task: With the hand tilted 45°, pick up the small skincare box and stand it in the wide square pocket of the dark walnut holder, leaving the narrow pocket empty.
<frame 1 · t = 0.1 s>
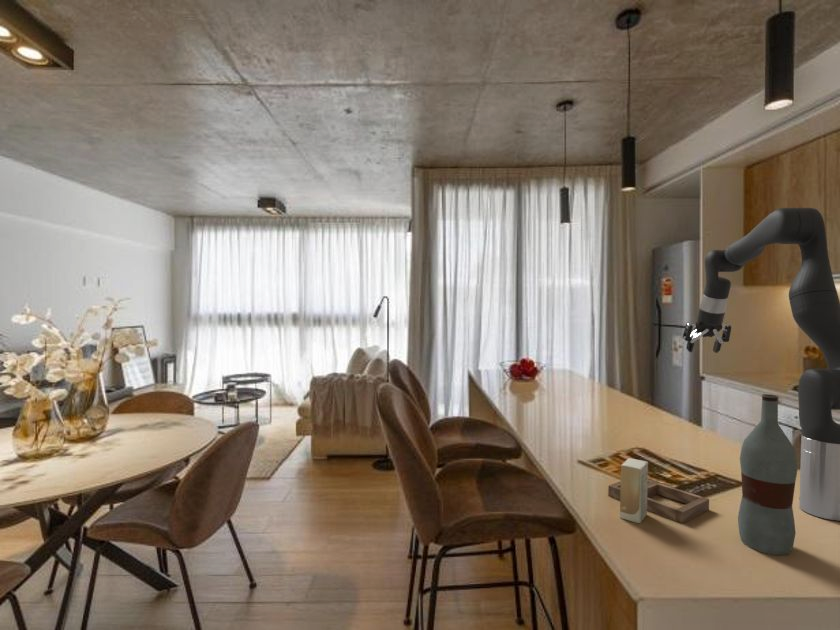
hand: (702, 351, 166), 31 cm above the worktop, tool tilted 20°, fingers open, 8 cm apart
bottle: (765, 545, 95), on the worktop
skincare box: (633, 517, 108), on the worktop
slot holder: (656, 502, 115), on the worktop
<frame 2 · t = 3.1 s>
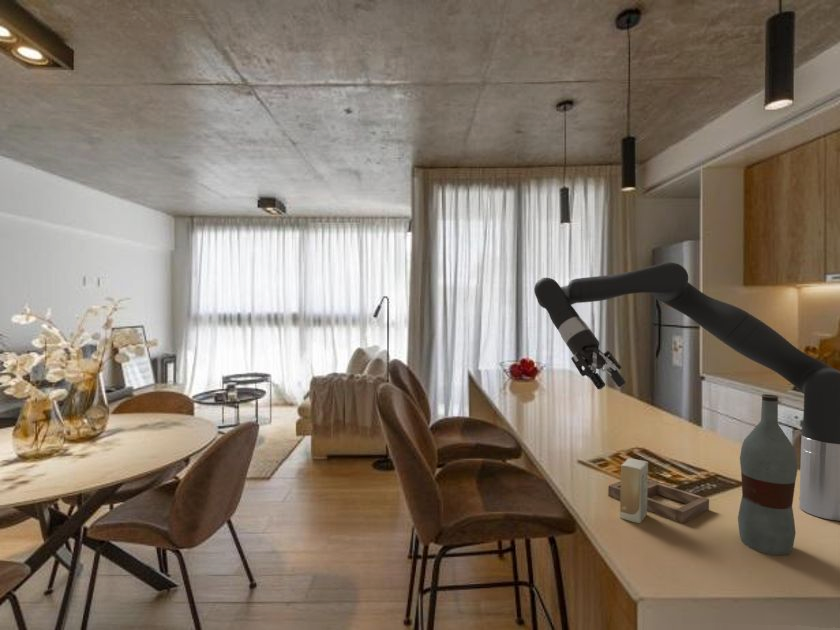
hand: (612, 386, 122), 27 cm above the worktop, tool tilted 45°, fingers open, 8 cm apart
nothing on the worktop moved.
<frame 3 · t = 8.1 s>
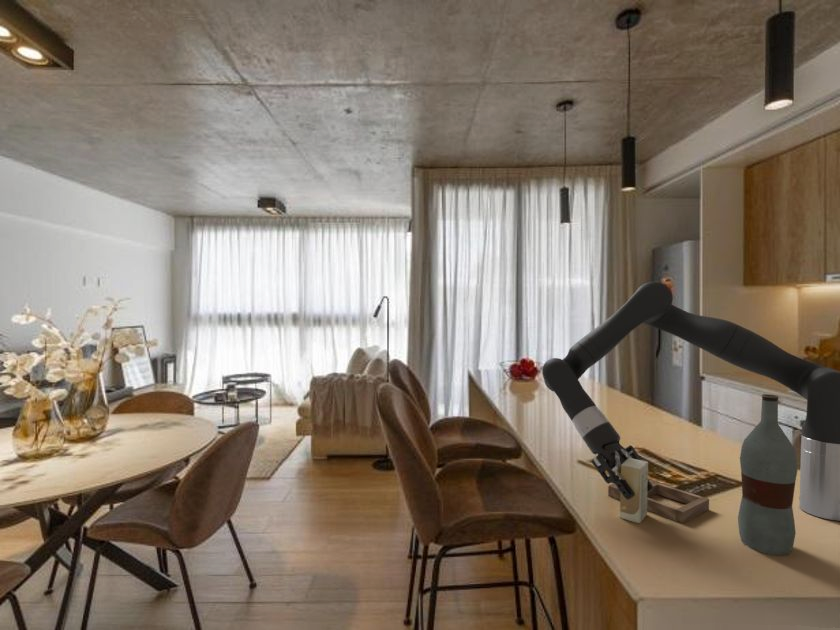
hand: (640, 493, 106), 6 cm above the worktop, tool tilted 45°, fingers closed on skincare box, 7 cm apart
skincare box: (633, 517, 108), on the worktop, touching gripper
everything else where it was.
when the fingers open (6 cm above the worktop, at t = 14.7 s): skincare box stays where it is, resting in slot holder.
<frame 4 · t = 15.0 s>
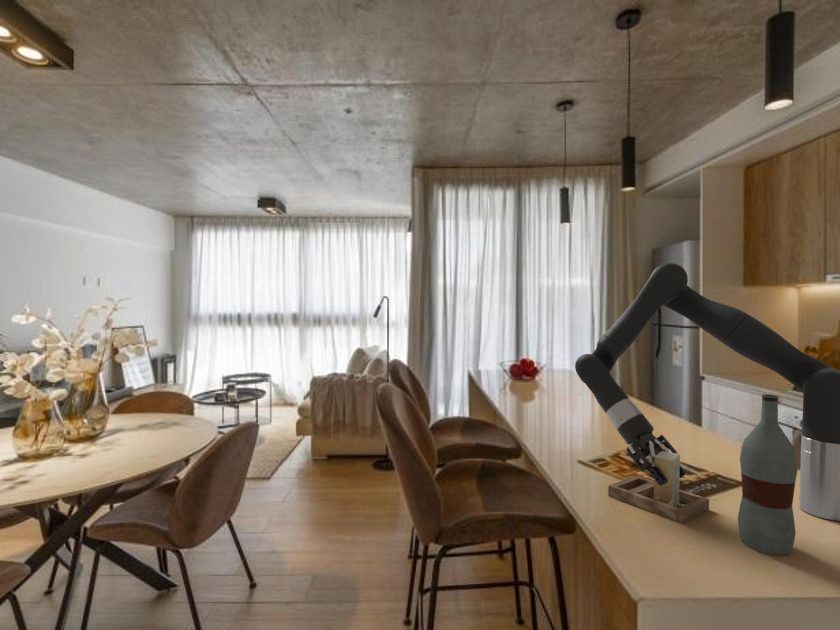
hand: (673, 480, 112), 7 cm above the worktop, tool tilted 45°, fingers open, 8 cm apart
skincare box: (666, 506, 113), resting in slot holder
everything else where it was.
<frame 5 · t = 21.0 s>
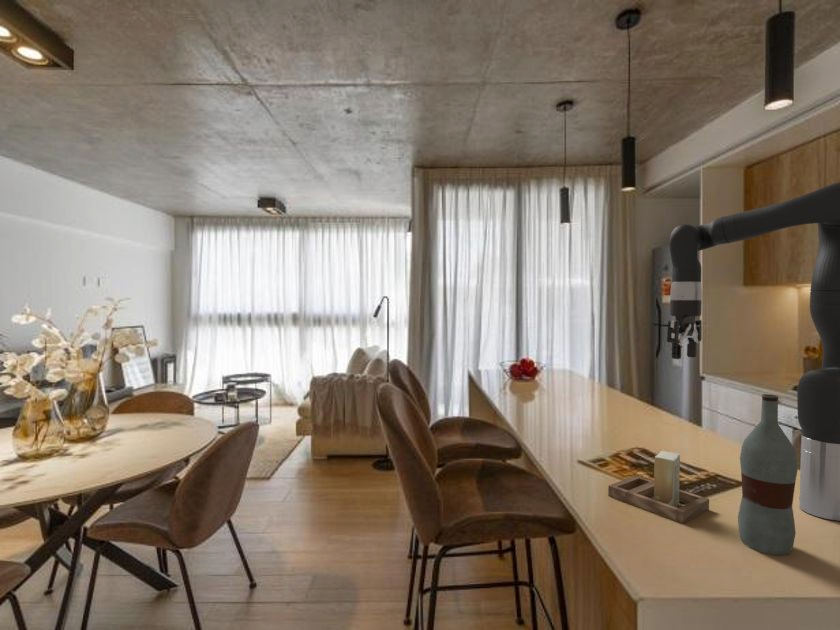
hand: (684, 357, 131), 33 cm above the worktop, tool pointing down, fingers open, 8 cm apart
nothing on the worktop moved.
at the end: skincare box 0.3 cm from the target spot on the slot holder, point 0.0 cm above the slot holder's base; skincare box tilted 0°; the gripper is holding nothing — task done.
